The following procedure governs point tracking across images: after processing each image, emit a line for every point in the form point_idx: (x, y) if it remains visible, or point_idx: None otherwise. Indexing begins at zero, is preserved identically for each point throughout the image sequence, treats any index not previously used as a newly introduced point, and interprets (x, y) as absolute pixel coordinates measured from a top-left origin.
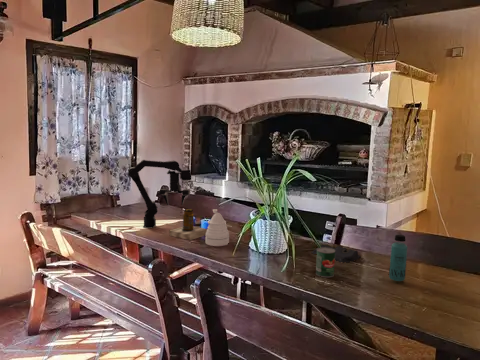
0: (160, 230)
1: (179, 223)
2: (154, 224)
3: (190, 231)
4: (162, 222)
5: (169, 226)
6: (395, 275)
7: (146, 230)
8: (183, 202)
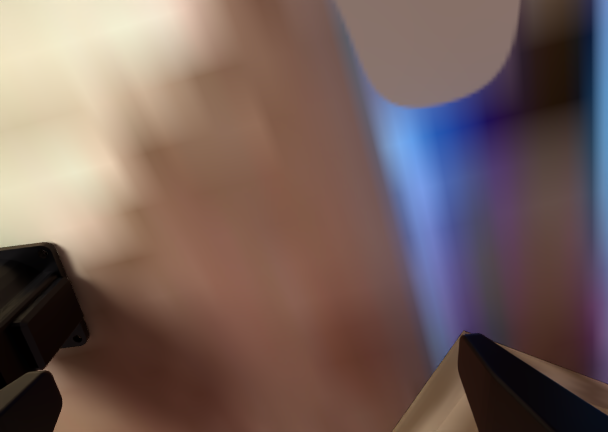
0: (211, 395)
1: (291, 59)
2: (73, 329)
3: None
4: (34, 61)
5: (228, 242)
6: None
7: (88, 422)
8: (550, 386)
